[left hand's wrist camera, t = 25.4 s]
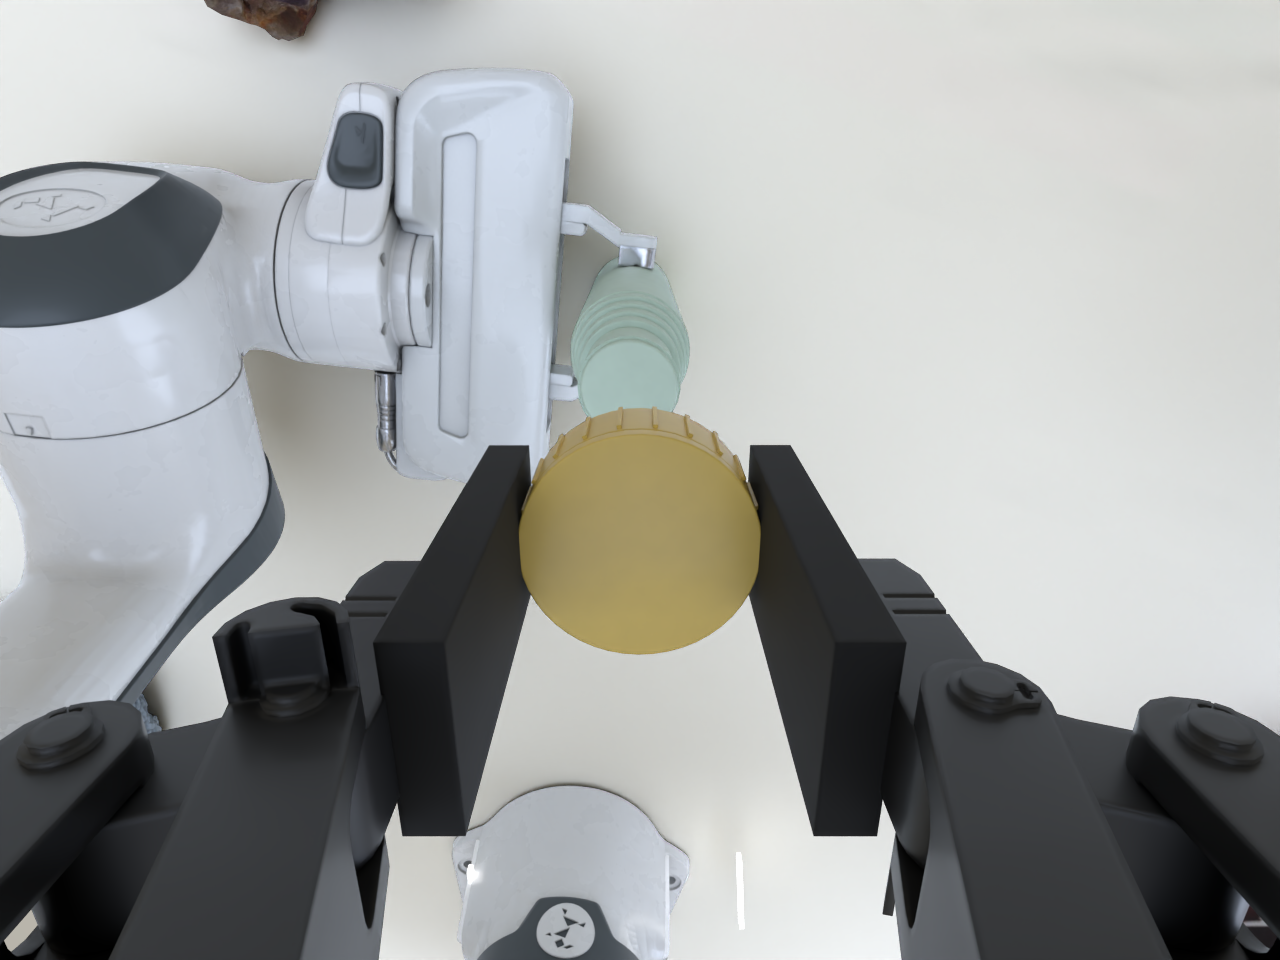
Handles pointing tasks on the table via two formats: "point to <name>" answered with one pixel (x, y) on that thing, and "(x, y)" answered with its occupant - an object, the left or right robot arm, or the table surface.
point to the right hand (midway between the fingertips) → (648, 312)
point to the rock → (270, 14)
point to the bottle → (629, 342)
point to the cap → (639, 532)
